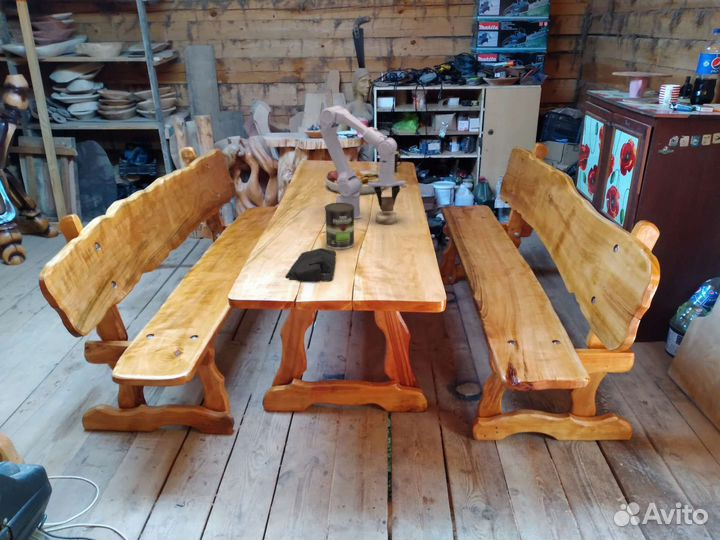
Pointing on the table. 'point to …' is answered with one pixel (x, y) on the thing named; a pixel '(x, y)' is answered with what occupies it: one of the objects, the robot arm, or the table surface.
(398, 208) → the table surface
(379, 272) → the table surface
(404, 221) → the table surface
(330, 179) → the bowl
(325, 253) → the dark slate chunk
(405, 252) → the table surface
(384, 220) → the birch round
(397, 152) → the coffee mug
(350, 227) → the coffee can
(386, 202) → the walnut cube
